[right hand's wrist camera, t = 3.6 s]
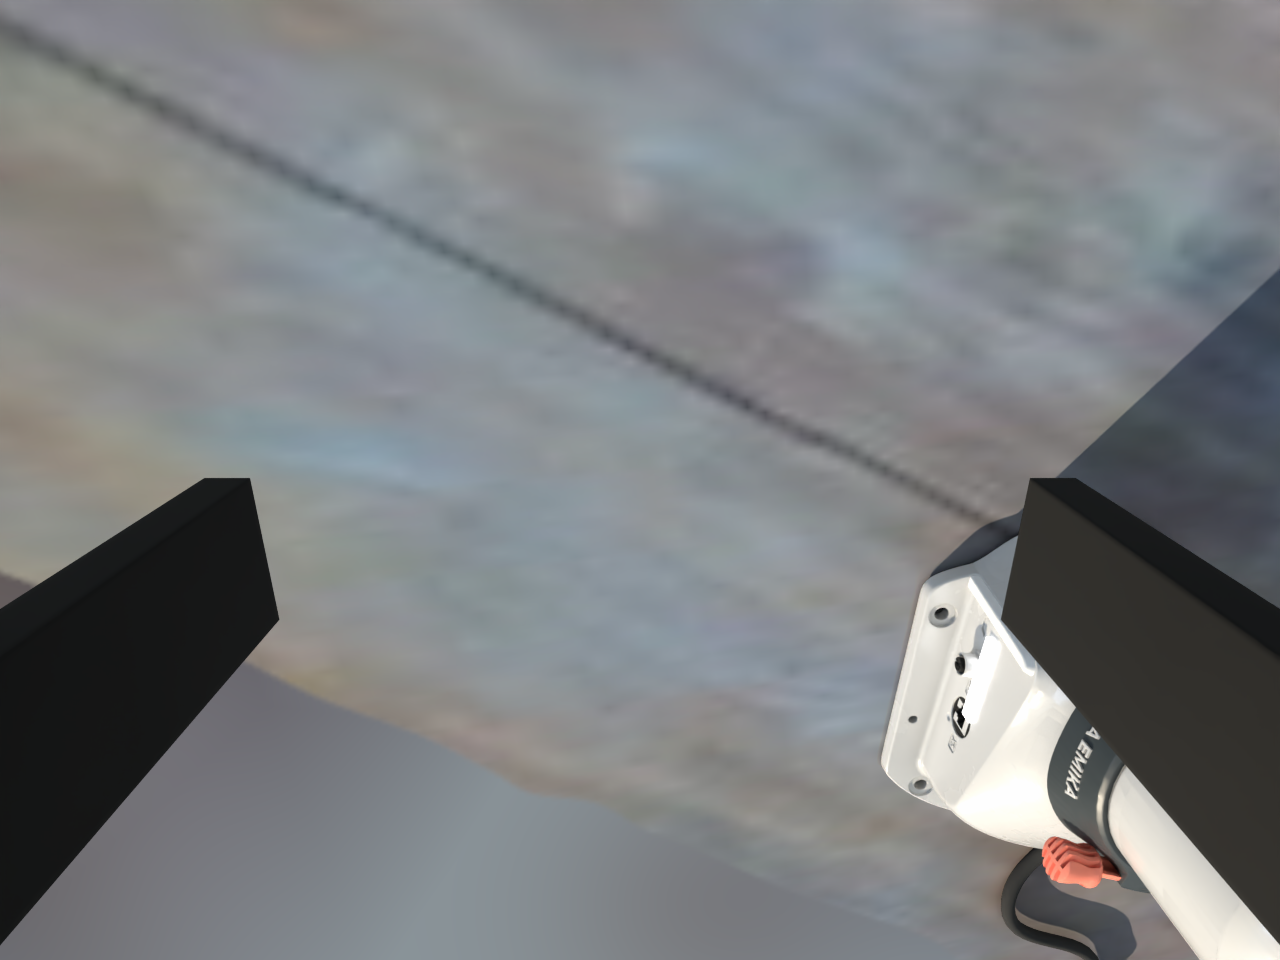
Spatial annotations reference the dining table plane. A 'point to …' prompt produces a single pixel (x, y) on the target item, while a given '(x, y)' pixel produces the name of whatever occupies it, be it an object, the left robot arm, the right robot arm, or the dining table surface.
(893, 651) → the dining table surface
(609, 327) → the dining table surface
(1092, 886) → the left robot arm
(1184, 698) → the right robot arm
